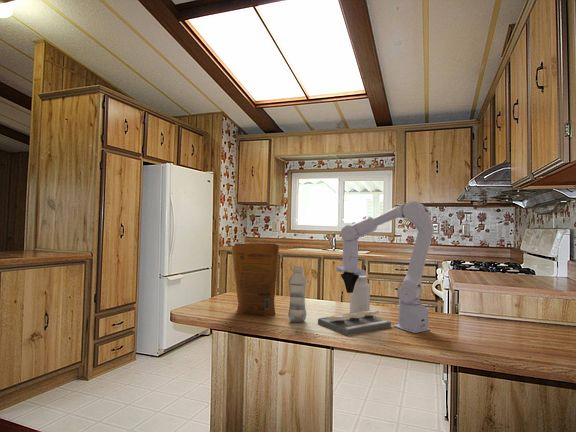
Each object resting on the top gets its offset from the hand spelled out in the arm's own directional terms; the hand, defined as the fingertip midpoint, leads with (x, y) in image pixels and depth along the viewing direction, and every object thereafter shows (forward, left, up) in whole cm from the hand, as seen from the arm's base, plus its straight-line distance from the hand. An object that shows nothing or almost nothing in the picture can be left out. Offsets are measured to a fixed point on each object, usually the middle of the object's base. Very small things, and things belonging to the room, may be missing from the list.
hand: (349, 292), depth 142 cm
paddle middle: (-8, +5, -6) cm, 11 cm away
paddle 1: (-8, +12, -6) cm, 16 cm away
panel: (-8, +5, -10) cm, 14 cm away
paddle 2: (-8, -2, -6) cm, 10 cm away
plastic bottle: (+6, +20, -10) cm, 23 cm away
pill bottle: (+5, -10, -10) cm, 15 cm away
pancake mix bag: (+24, +28, -10) cm, 38 cm away
